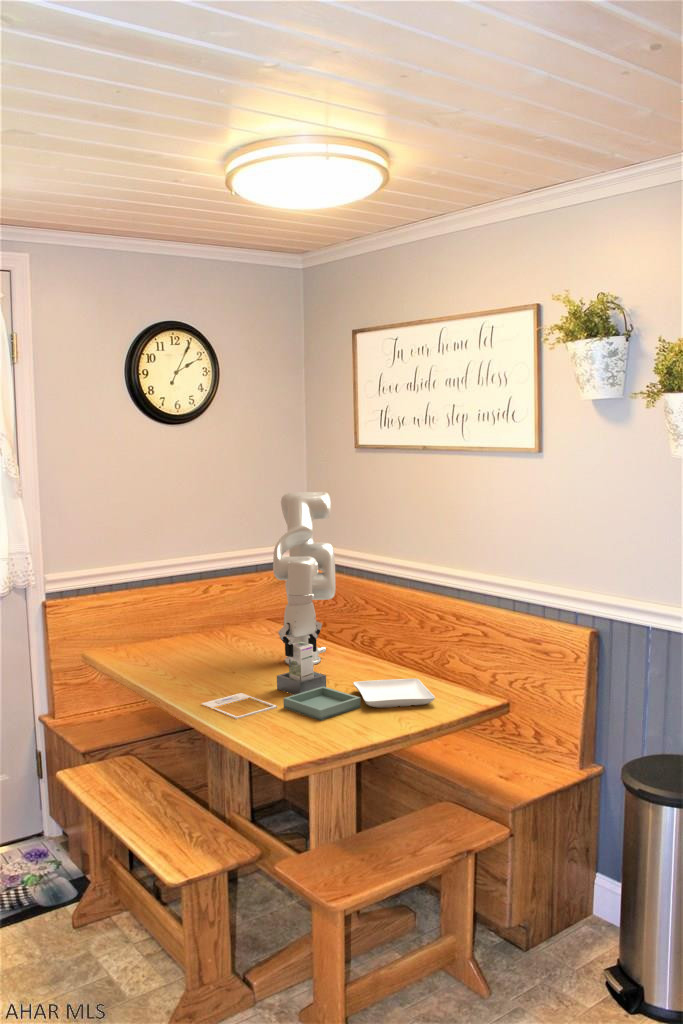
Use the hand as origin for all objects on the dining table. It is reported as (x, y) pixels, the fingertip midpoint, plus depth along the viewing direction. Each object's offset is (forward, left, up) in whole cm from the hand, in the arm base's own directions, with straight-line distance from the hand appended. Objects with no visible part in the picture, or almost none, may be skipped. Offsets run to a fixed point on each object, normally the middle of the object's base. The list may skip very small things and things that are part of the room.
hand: (301, 653), depth 268 cm
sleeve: (0, 0, -12) cm, 12 cm away
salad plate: (-13, +27, -12) cm, 32 cm away
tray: (+8, +18, -12) cm, 22 cm away
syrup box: (0, 0, -12) cm, 12 cm away
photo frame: (+24, -1, -12) cm, 27 cm away
